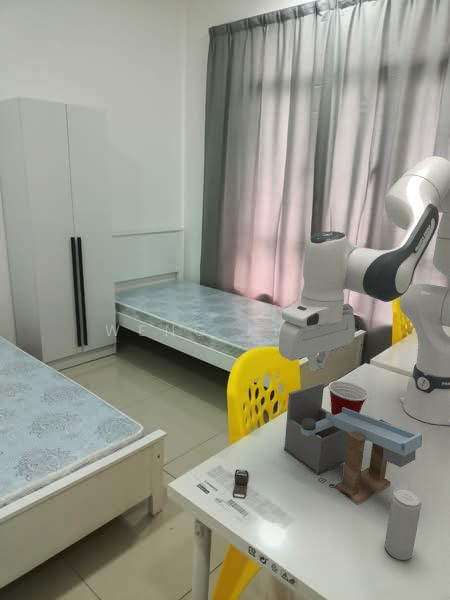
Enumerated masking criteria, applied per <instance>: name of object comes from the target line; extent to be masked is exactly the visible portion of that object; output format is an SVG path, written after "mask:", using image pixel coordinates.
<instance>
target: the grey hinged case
mask: <svg viewBox="0 0 450 600" xmlns="http://www.w3.org/2000/svg"><path fill="white" fill-rule="evenodd" d="M249 480H250V472H249V471H248V470H246V469H235V472H234V487H233V491H232V497H233V498H234V499H241V500H245V499H246V498H247V495H248V494H247V492H248V483H249ZM237 495H239V496H237ZM240 495H242V496H240Z"/></svg>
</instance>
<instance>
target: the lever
mask: <svg viewBox="0 0 450 600" xmlns="http://www.w3.org/2000/svg"><path fill="white" fill-rule="evenodd" d="M379 420H380V419H376V418H373V417H371V416H368V415H365V414H364V413H361V412H360V413H358V412H355V411H352V410H349V409H347V408H344V407H342V413H339V414H337V415H334V416H332V415H330V414H327V413H326V418H325V419H323V420H320V421H318V422H316V420H315V419H312V418H304V419H302V428H301V433H302V434H304V435H306V436H309V435H312V434H314V433H317V432H319V431H322V430H324V429H327V428H329V427H331V426H335V427H337V428H339V429H342V430H344V431H346V432H349V433H351V432H353V431H354V432H356V433H358V434H359V435H361V436H363V437H365V441H368V442H369V443H370V442H371V443H372V444H373V443H375V444H377V445H379V446H382V447H383V460H385V461H387V463H390V464H392V465H395V466H397V467H399V468H403V467H404V466H406V465H408V464H410V463H412V462H413V461H416V457H417V456H416V455H417V454H416V453H417V452H416V450H418V449H419V448H422V447H423V434H422V433H419V432H418V433H414V432H412V431H408V430H407V429H403V428H401V427H398V426H395V425H392V424H391V423H389V424H387V423H388V422H387V423H385V422H386V421H385V422H382V421H379ZM390 424H391V425H390Z"/></svg>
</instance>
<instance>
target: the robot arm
mask: <svg viewBox="0 0 450 600" xmlns="http://www.w3.org/2000/svg"><path fill="white" fill-rule="evenodd" d="M384 208H385V212H386V215H387V216H388V218H389V219H390V221H391V222H392V223H393V224H394V225H395V226H396V227H398V228H399V229H401V230H404V231H405V232H404V234H403V236H402V237H401V239H400V241H398V245H397V246H396V247H394V248H392V249H385V250H384V249H383V250H380V249H373V248H368V247H365V246H364V247H363V246H358V245H357V244H354V243H353V242H351V241H349V239H348V237H347V235H346V234H345V233H344V232H340V231H336V230H335V231H322V232H318V233H315V234H313V235H312V236H310V238H308V241H307V244H306V248H305V251H304V257H303V265H302V266H303V269H302V278H303V288H302V290H301V295H300V297H301V298H300V299H297V300H296V302H294V303H292V304H290V305H289V306H288V307H286V308H284V309H283V310H282V312H281V319H282V320H283V323H282V324H281V327H280V331H279V336H278V337H279V338H278V353H279V355H280V356H281V357H282V358H284V359H286V360H288V361H291V362H293V361H297V360H301V359H304V358H307V360H308V362H309V363H308V368H309V369H308V370H310V371H312V372H317V371H319V370H323V369H324V368H325V362H326V360H327V359H328V357H329V355H330V350H334V349H337V348H340V347H343V346H344V347H345V346H347V345H350V344H352V343H353V341H354V340H355V334H356V331H355V329H356V325H355V324H356V323H355V322H356V321H355V315H354V312H355V311H354V307H353V306H351V304H349V303H344V301H345V292H344V291H345V290H348V291H351V292H354V293H359V294H362V295H365V296H368V297H371V298H374V299H375V300H379V301H381V302H384V303H390V302H392V301H395V300H397V299H398V298H399V300H398V301H399V308H400V310H401V313H402V314H403V315H404V316H405V317H406V318H407V319H408V320H409V321H410V323H411V325H412V327H413V328H414V330H415V331H414V332H415V333H416V337H417V353H416V361H415V362H416V363H415V364H414V366H413V369H412V377H410V378H409V379H408V381H407V383H406V387H405V393H404V396H400V398H399V401H400V402H401V404H402V408H403V410H404V412H405V413H406V414H407V415H409V416H410V417H411V418H414V419H416V420H418V421H421V422H423V423H424V422H425V423H427V424H431V425H442V426H443V425H444V426H450V336H449V335H448V334H447V333H446V332H445V330H444V328H443V326H444V327H449V328H450V287H448V286H440V285H436V284H429V283H416V284H415V283H413V284H411V283H412V282H413V281H412V280H413V277H414V274H415V271H416V269H417V267H418V265H419V263H420V262H421V260H422V258H423V256H424V254H425V252H426V250H427V248H428V247H429V245H430V243H431V241H432V239H433V238H434V235H435V233H436V231H437V233H436V239H435V245H434V250H433V257H432V263H433V266H434V267H435V269H436V270H437V271H438V272H439V273H441V274H442V275H444V277H445V276H446V277H447V278H448V279H449V280H450V160H448V159H447V158H445V157H442V156H437V155H431V156H427V157H424V158H423V159H421V160H420V161H418V162H417V163H415V164H414V165H413V166H412V167H410V168H409V169H408V170H407V171H406V172H405V173H404V174H403V175H401V177H399V179H398V180H397V181H396V182H395V183H393V185H392V186H391V188H389V190H388V192H387V194H386V196H385V200H384ZM439 213H440V214H442V215H441V216H440V214H439ZM440 217H441V218H440Z"/></svg>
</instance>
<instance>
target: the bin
mask: <svg viewBox="0 0 450 600" xmlns="http://www.w3.org/2000/svg"><path fill="white" fill-rule="evenodd" d="M324 389H325V383H324V382H319V383H315V384H312V385H309V386H306V387H303V388H299V389H297V390H292V391H291V392H288V399H287V400H288V401H287V412H286V424H285V425H286V426H285V436H284V437H285V438H284V451H285V452H286V453H288V454H289V455H290V456H292V457H293V458H294V459H296V461H298V462H299V463H300V464H303V466H305V467H306V468H308V470H310V471H311V472H313V473H314V474H315V475H316V476H320V475H321V474H323V473H326V472H328V471H331V469H334V468H337V467H338V466H340V465H342V464H344V460H345V452H346V444H347V436H348V434H349V432H346V431H344V430H342V429H339V428H337V427H335V426H331V427H329V428H327V429H324V430H322V431H319V432H317V433H314V434H312V435H309V436H306V435H304V434H302V433H301V428H302V419H304V418H312V419H315V420H316V422H318V421H320V420H323V419H325V418H326V413H327V414H330V415H332V416H334V415H333V414H331V412H329V411H328V410H326V409H324V408H323V407H322V406H323V399H324V398H323V397H324V391H325V390H324ZM317 435H318V436H320V437H321V438H322V439H321V438H320V437H318V436H317Z"/></svg>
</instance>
